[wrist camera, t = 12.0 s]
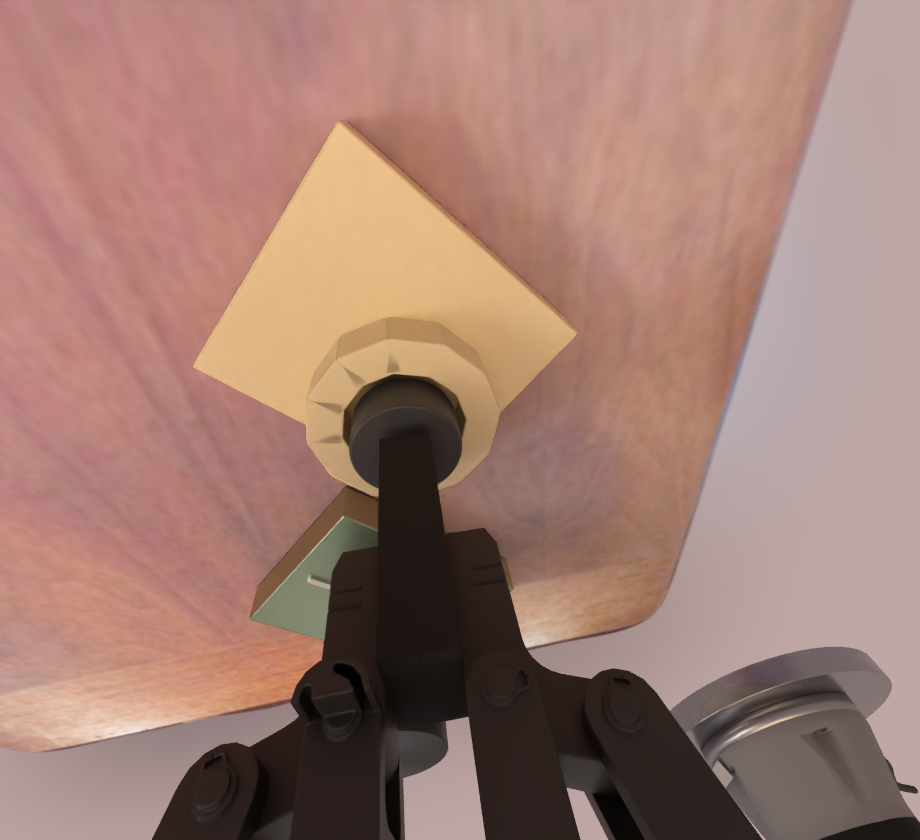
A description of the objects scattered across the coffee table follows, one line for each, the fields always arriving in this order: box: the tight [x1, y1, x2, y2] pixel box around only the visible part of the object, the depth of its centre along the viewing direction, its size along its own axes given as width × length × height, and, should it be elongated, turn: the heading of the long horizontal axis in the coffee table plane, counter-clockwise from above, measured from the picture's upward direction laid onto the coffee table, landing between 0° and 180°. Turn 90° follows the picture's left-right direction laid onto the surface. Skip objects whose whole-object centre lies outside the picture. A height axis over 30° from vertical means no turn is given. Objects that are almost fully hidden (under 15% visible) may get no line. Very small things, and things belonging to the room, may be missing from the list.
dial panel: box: [249, 487, 513, 640], centre depth 25 cm, size 11×9×2 cm
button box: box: [193, 120, 577, 497], centre depth 16 cm, size 10×9×4 cm
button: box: [349, 378, 462, 489], centre depth 15 cm, size 4×4×2 cm
